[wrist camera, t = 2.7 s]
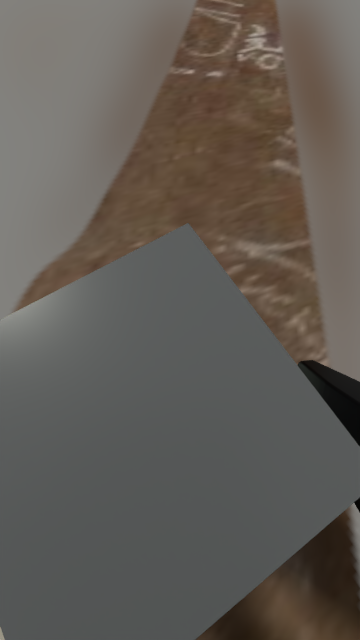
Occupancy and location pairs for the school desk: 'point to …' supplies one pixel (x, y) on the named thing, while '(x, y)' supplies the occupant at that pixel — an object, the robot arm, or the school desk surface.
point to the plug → (154, 452)
